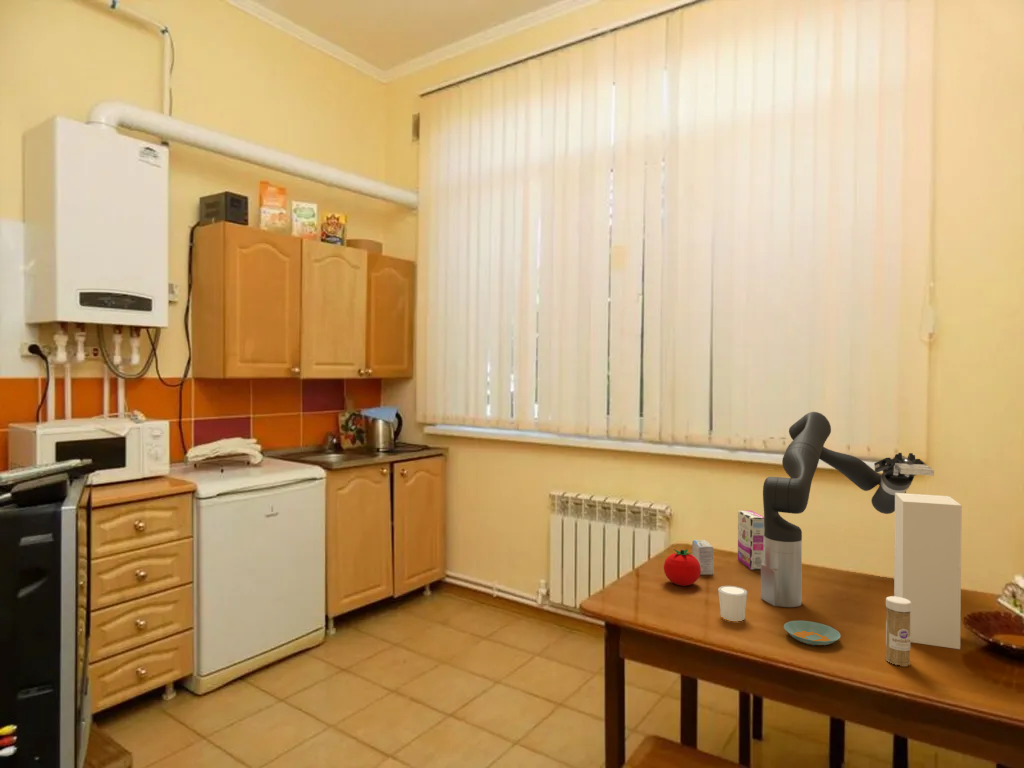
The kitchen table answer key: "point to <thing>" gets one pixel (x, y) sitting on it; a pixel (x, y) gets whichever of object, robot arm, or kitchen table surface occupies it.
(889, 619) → the sprinkles bottle
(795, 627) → the saucer
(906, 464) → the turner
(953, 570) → the stand
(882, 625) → the kitchen table surface
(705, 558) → the medicine box
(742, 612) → the white cup
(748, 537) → the candy bar box
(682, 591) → the kitchen table surface
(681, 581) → the tomato
